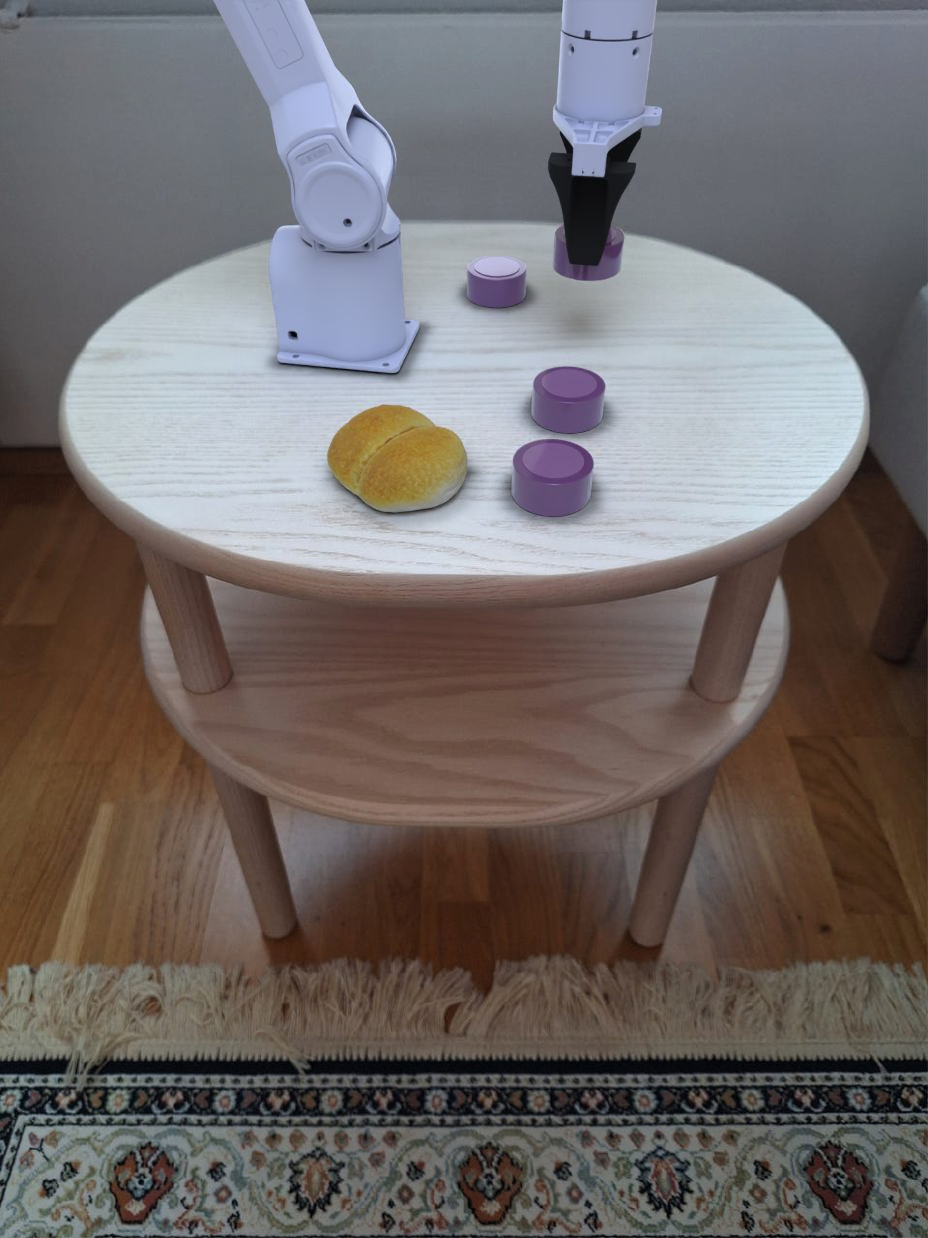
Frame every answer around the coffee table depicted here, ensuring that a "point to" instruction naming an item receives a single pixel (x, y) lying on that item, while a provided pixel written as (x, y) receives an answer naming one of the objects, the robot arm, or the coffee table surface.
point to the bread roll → (397, 459)
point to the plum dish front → (552, 477)
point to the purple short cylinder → (496, 281)
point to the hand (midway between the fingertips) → (587, 247)
